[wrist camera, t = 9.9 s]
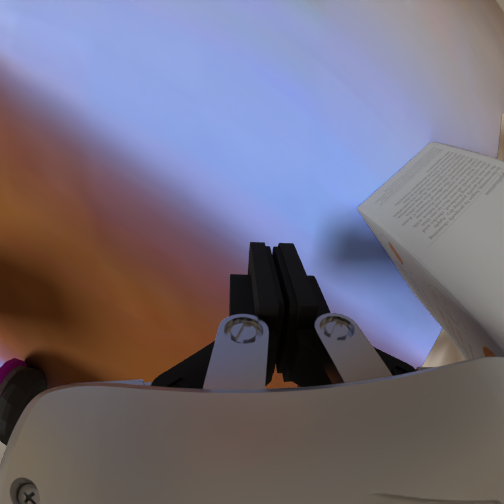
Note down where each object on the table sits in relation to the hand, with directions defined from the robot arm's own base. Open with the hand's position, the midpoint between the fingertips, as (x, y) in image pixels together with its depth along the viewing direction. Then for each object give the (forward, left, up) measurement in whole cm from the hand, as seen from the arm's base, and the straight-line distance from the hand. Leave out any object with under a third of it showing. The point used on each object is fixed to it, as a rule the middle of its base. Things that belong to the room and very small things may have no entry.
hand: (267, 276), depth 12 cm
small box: (-2, +10, -4) cm, 11 cm away
